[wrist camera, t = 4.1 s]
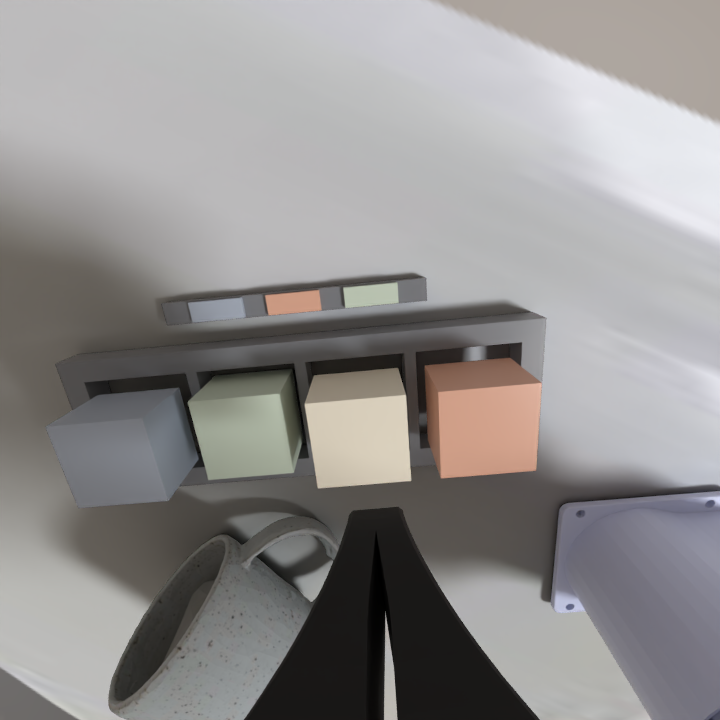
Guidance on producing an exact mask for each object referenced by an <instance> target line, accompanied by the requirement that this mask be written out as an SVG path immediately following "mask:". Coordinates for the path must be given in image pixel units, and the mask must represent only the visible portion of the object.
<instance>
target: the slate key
mask: <svg viewBox="0 0 720 720" xmlns="http://www.w3.org/2000/svg"><path fill="white" fill-rule="evenodd" d="M45 428H46V431H47V433H48V435H49V438H50V440H51V443H52V445H53V448H54V450H55V452H56V455H57V457H58V460H59V462H60V465H61V467H62V469H63V472H64V474H65V477H66V479H67V482H68V484H69V486H70V489H71V491H72V494H73V496H74V499H75V501H76V503H77V506H78V508H87V507H100V506H112V505H124V504H136V503H148V502H161V501H169V499H170V498H171V497H172V495H173V494H174V492H175V491H176V490H177V488H178V487H179V486H180V484H181V483H182V481H183V480H184V479H185V477H186V476H187V475H188V473H189V472H190V470H191V469H192V468H193V466H194V465H195V464H196V462H197V461H198V455H197V451H196V448H195V444H194V440H193V437H192V433H191V429H190V425H189V422H188V418H187V414H186V411H185V407H184V403H183V400H182V396H181V392H180V389H179V388H170V389H159V390H147V391H136V392H125V393H114V394H103V395H97V396H95V397H94V398H92V399H91V400H89V401H87V402H86V403H84V404H82V405H81V406H79V407H77V408H76V409H74V410H72V411H71V412H69V413H67V414H66V415H64V416H62V417H61V418H59V419H57V420H56V421H54V422H52V423H51V424H49V425H47V426H46V427H45Z"/></svg>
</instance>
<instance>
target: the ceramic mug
mask: <svg viewBox="0 0 720 720" xmlns="http://www.w3.org/2000/svg"><path fill="white" fill-rule="evenodd" d="M304 535H315V536H316V537H317V538H318V539H319V540H320V541H321V542H322V543H323V545H324V547H325V548H326V555H327V556H329V557H331V559H332V560H333V562H334V559H335V557H336V554H337V552H338V549H339V547H340V545H339V543H338V541H337V539H336V537H335V536H334V534H333V533H332V532H331V531H330V530H329V529H328V528H327V527H326V526H325V525H324V524H322V523H320V522H319V521H317V520H316V519H312V518H309V517H304V516H299V517H288V518H285V519H281V520H278V521H276V522H274V523H272V524H270V525H269V526H267V527H266V528H264V529H263V530H261V531H260V532H259V533H257V534H256V535H254V536H253V537H252V538H251V539H250V540H249V541H247V542H246V543H244V544H243V545H241V544H240V543H239V542H237V541H236V540H235V539H233V538H232V537H230V536H228V535H218V536H216V537H214V538H212V539H210V540H209V541H207V542H206V543H204V544H203V545H202V546H200V547H199V548H198V549H197V550H196V551H195V552H194V553H193V554H192V555H190V556H189V557H188V558H187V560H186V561H185V562H184V563H183V564H182V565H181V566H180V567H179V568H178V570H177V571H176V572H175V573H174V574H173V576H172V577H171V578H170V579H169V580H168V582H167V583H166V584H165V586H164V587H163V588H162V590H161V591H160V592H159V593H158V595H157V596H156V597H155V599H154V600H153V602H152V604H151V606H150V607H149V609H148V610H147V612H146V613H145V614H144V616H143V618H142V619H141V621H140V623H139V625H138V627H137V628H136V629H135V631H134V634H133V635H132V637H131V639H130V640H129V643H128V645H127V647H126V649H125V651H124V653H123V654H122V657H121V659H120V661H119V663H118V666H117V668H116V670H115V673H114V675H113V677H112V680H111V685H110V690H109V700H108V703H109V708H110V710H111V712H113V713H114V714H116V715H117V716H119V717H121V718H124V719H127V720H244V719H245V717H246V716H247V714H248V713H249V712H250V710H251V709H252V707H253V706H254V704H255V703H256V701H257V700H258V698H259V697H260V695H261V694H262V692H263V691H264V689H265V688H266V686H267V684H268V683H269V681H270V680H271V678H272V677H273V675H274V673H275V672H276V670H277V669H278V667H279V666H280V664H281V662H282V661H283V659H284V658H285V656H286V654H287V652H288V651H289V649H290V647H291V646H292V644H293V642H294V641H295V639H296V637H297V635H298V633H299V632H300V630H301V628H302V626H303V624H304V622H305V621H306V619H307V617H308V615H309V613H310V611H311V609H312V607H313V605H314V603H315V601H316V599H317V597H318V596H317V597H316V599H315V600H314V601H313V602H310V601H309V600H308V599H307V598H306V597H304V596H303V594H301V593H300V592H299V591H298V590H296V589H295V588H294V587H292V586H291V585H290V584H288V583H287V582H286V581H285V580H283V579H282V578H281V577H279V576H278V575H277V574H276V573H274V572H273V571H272V570H271V569H270V568H269V567H268V566H267V565H265V564H264V563H263V562H262V561H261V560H259V559H258V558H257V557H256V556H257V555H258V554H259V553H261V552H263V551H264V550H266V549H267V548H268V547H270V546H272V545H274V544H275V543H277V542H279V541H281V540H282V539H286V538H289V537H293V536H304Z"/></svg>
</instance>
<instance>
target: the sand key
mask: <svg viewBox="0 0 720 720" xmlns="http://www.w3.org/2000/svg"><path fill="white" fill-rule="evenodd" d="M305 410H306V416H307V422H308V429H309V435H310V441H311V448H312V454H313V461H314V467H315V473H316V480H317V486H318V489H319V488H331V487H343V486H356V485H368V484H380V483H392V482H404V481H411V469H410V452H409V436H408V420H407V403H406V393H405V390H404V387H403V383H402V380H401V377H400V373H399V370H398V368H390V369H379V370H368V371H357V372H346V373H335V374H324V375H314V377H313V380H312V383H311V386H310V389H309V392H308V395H307V398H306V401H305Z"/></svg>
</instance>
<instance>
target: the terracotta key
mask: <svg viewBox="0 0 720 720" xmlns="http://www.w3.org/2000/svg"><path fill="white" fill-rule="evenodd" d="M425 386H426V410H427V433H428V442H429V445H430V448H431V451H432V454H433V457H434V459H435V462H436V465H437V468H438V471H439V474H440V477H441V478H453V477H465V476H478V475H490V474H502V473H514V472H526V471H536V464H537V449H538V434H539V418H540V403H541V388H542V383H541V382H540V381H539V380H538V379H536V378H535V377H534V376H533V375H531V374H530V373H529V372H527V371H526V370H525V369H524V368H522V367H521V366H520V365H519V364H517V363H516V362H515V361H514V360H512V359H511V358H500V359H489V360H478V361H467V362H456V363H445V364H434V365H425Z"/></svg>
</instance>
